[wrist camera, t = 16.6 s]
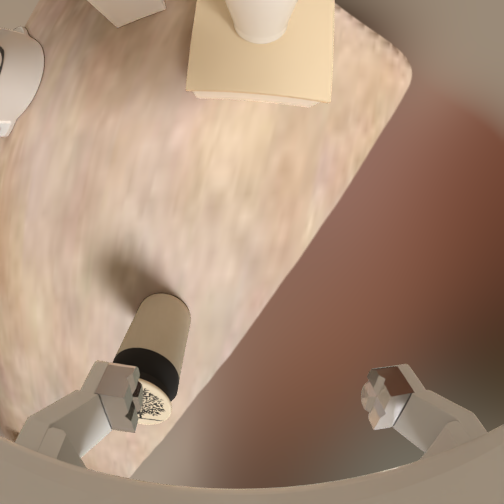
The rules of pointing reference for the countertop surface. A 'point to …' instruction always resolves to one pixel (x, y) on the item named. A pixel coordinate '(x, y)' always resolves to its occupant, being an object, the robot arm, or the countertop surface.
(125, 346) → the travel mug
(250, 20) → the white ceramic cup
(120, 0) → the milk carton
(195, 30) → the painted box
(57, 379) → the countertop surface
